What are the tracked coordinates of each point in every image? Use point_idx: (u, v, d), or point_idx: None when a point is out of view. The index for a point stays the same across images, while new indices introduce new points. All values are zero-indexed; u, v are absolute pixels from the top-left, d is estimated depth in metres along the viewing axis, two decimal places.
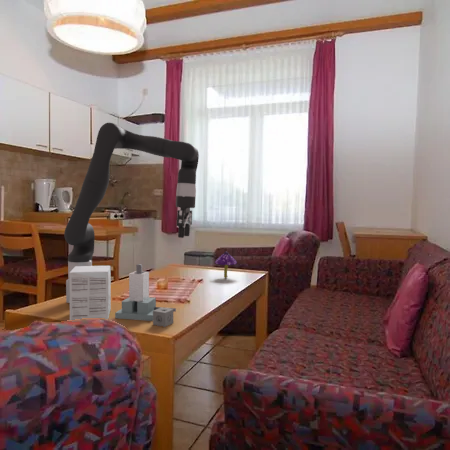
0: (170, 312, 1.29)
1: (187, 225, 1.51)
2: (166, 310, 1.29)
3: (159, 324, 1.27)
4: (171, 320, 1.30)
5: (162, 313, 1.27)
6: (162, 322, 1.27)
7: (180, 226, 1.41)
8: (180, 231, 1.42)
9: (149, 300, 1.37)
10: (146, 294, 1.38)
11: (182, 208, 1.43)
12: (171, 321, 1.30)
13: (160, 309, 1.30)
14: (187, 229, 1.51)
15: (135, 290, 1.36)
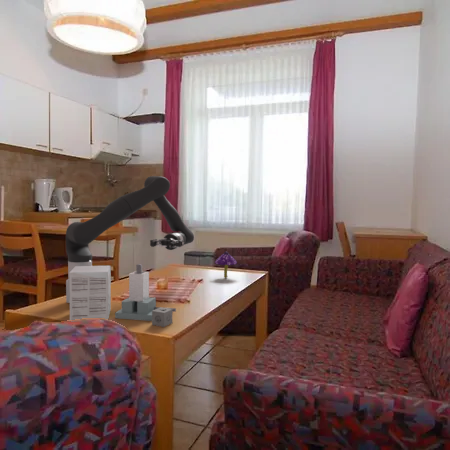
0: (169, 312, 1.29)
1: (156, 243, 1.66)
2: (165, 310, 1.29)
3: (158, 324, 1.27)
4: (170, 320, 1.30)
5: (161, 313, 1.27)
6: (161, 322, 1.27)
7: (178, 244, 1.64)
8: (175, 244, 1.62)
9: (149, 300, 1.37)
10: (146, 294, 1.38)
11: None
12: (170, 321, 1.30)
13: (159, 309, 1.30)
14: (155, 244, 1.64)
15: (135, 290, 1.36)
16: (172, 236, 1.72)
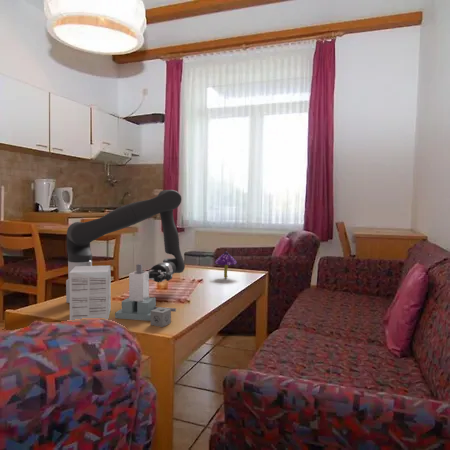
0: (168, 312, 1.29)
1: None
2: (164, 310, 1.29)
3: (157, 324, 1.27)
4: (169, 320, 1.30)
5: (159, 313, 1.27)
6: (160, 322, 1.27)
7: (166, 277, 1.50)
8: (162, 278, 1.48)
9: (149, 300, 1.37)
10: (146, 294, 1.38)
11: (166, 273, 1.57)
12: (169, 321, 1.30)
13: (158, 309, 1.30)
14: None
15: (135, 290, 1.36)
16: (160, 267, 1.57)
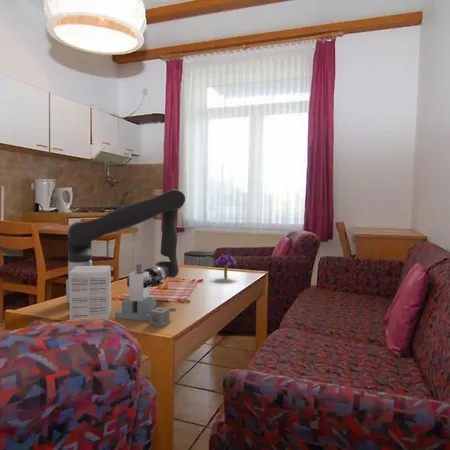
0: (166, 312, 1.29)
1: None
2: (162, 310, 1.29)
3: (155, 324, 1.27)
4: (167, 320, 1.30)
5: (158, 313, 1.27)
6: (158, 322, 1.27)
7: (153, 283, 1.39)
8: (149, 283, 1.37)
9: (149, 300, 1.37)
10: (146, 294, 1.38)
11: None
12: (167, 321, 1.30)
13: (156, 309, 1.30)
14: None
15: (135, 290, 1.36)
16: (151, 272, 1.47)
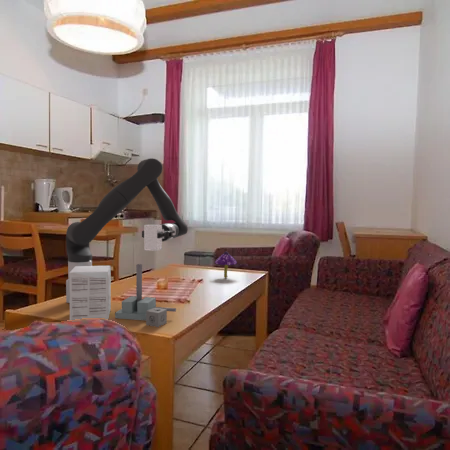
0: (163, 312, 1.29)
1: None
2: (159, 310, 1.29)
3: (152, 324, 1.27)
4: (164, 320, 1.30)
5: (155, 313, 1.27)
6: (155, 322, 1.27)
7: (166, 235, 1.52)
8: (162, 235, 1.50)
9: (149, 300, 1.37)
10: (159, 245, 1.51)
11: None
12: (164, 321, 1.30)
13: (153, 309, 1.30)
14: None
15: (150, 240, 1.48)
16: (163, 227, 1.60)
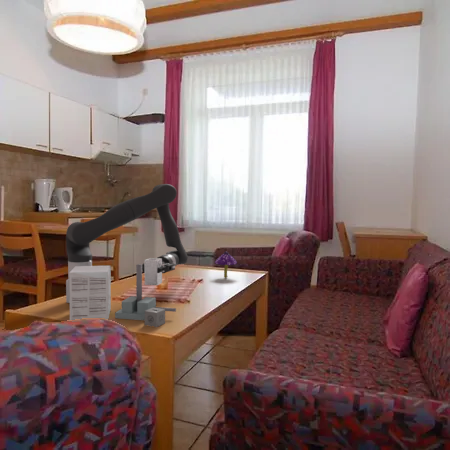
0: (162, 312, 1.29)
1: None
2: (158, 310, 1.29)
3: (151, 324, 1.27)
4: (163, 320, 1.30)
5: (154, 313, 1.27)
6: (154, 322, 1.27)
7: (166, 268, 1.53)
8: (162, 269, 1.51)
9: (149, 300, 1.37)
10: (160, 279, 1.52)
11: None
12: (163, 321, 1.30)
13: (152, 309, 1.30)
14: None
15: (150, 275, 1.49)
16: (163, 259, 1.61)
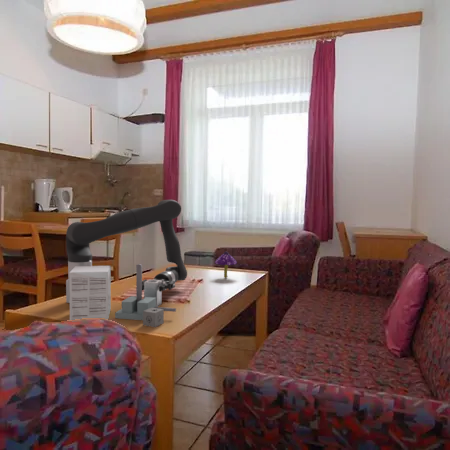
0: (160, 312, 1.29)
1: None
2: (156, 310, 1.29)
3: (149, 324, 1.27)
4: (161, 320, 1.30)
5: (152, 313, 1.26)
6: (152, 322, 1.27)
7: (168, 287, 1.53)
8: (164, 287, 1.52)
9: (149, 300, 1.37)
10: (159, 300, 1.53)
11: (169, 282, 1.61)
12: (161, 321, 1.30)
13: (150, 309, 1.30)
14: None
15: None
16: (163, 276, 1.61)
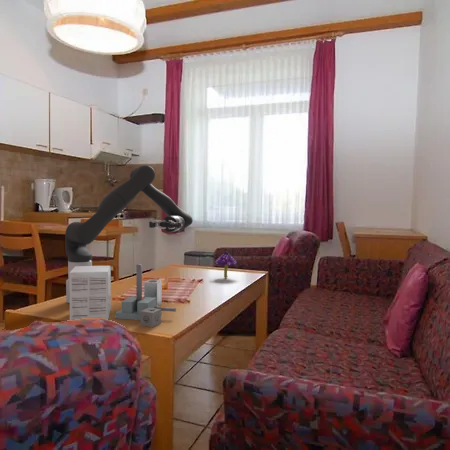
0: (157, 312, 1.29)
1: (154, 225, 1.67)
2: (153, 310, 1.29)
3: (146, 324, 1.27)
4: (158, 320, 1.30)
5: (149, 313, 1.26)
6: (149, 322, 1.27)
7: (177, 225, 1.65)
8: (173, 225, 1.63)
9: (149, 300, 1.37)
10: (159, 300, 1.53)
11: None
12: (158, 321, 1.30)
13: (147, 309, 1.30)
14: (154, 225, 1.65)
15: None
16: (171, 218, 1.73)
